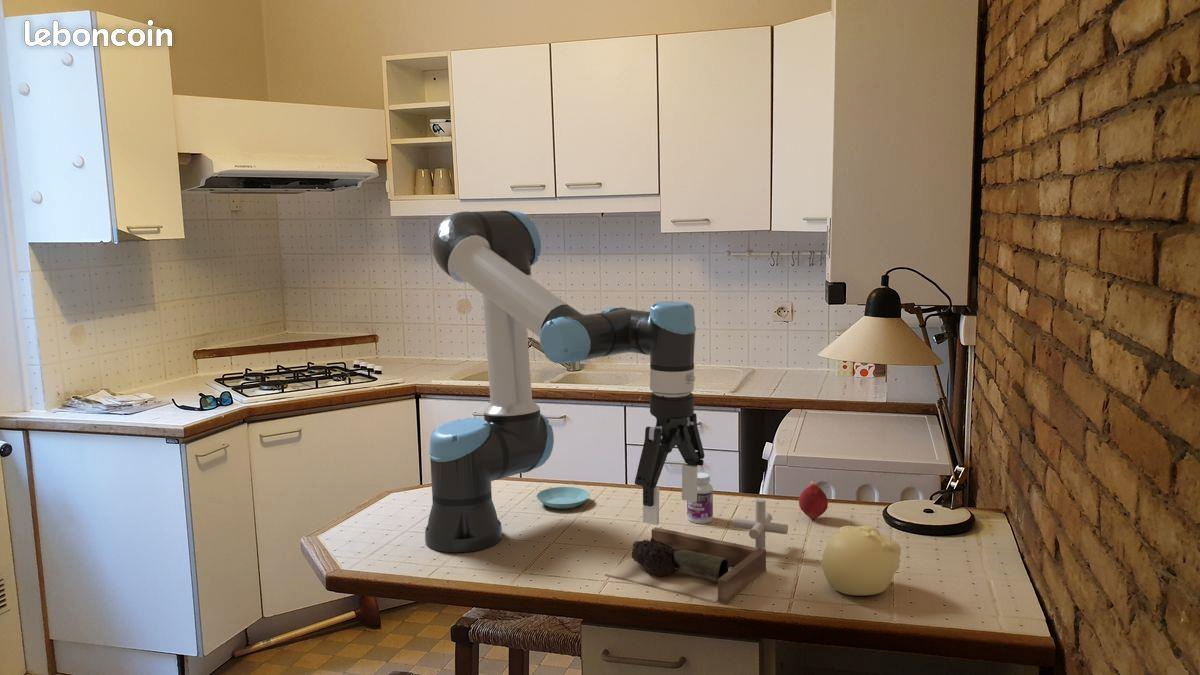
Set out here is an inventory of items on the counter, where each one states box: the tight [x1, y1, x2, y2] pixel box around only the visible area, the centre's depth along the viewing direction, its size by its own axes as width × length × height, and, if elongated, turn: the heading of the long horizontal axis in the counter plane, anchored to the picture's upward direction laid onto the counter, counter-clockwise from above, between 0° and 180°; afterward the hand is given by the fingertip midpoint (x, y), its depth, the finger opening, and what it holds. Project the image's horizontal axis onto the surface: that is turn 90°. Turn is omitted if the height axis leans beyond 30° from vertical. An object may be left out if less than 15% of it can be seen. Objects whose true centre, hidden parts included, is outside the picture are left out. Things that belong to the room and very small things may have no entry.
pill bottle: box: [686, 472, 714, 524], centre depth 187 cm, size 5×5×10 cm
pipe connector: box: [732, 498, 789, 550], centre depth 168 cm, size 10×10×10 cm
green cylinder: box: [631, 537, 730, 582], centre depth 158 cm, size 18×7×6 cm, turn 59°
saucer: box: [535, 486, 591, 510], centre depth 199 cm, size 12×12×2 cm
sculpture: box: [821, 525, 902, 596], centre depth 151 cm, size 12×12×11 cm
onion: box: [798, 481, 829, 520], centre depth 185 cm, size 6×6×8 cm
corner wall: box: [650, 527, 767, 605], centre depth 159 cm, size 23×16×4 cm
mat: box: [603, 556, 718, 604], centre depth 158 cm, size 22×11×1 cm, turn 56°
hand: (670, 511), depth 157 cm, fingers open, 13 cm apart
